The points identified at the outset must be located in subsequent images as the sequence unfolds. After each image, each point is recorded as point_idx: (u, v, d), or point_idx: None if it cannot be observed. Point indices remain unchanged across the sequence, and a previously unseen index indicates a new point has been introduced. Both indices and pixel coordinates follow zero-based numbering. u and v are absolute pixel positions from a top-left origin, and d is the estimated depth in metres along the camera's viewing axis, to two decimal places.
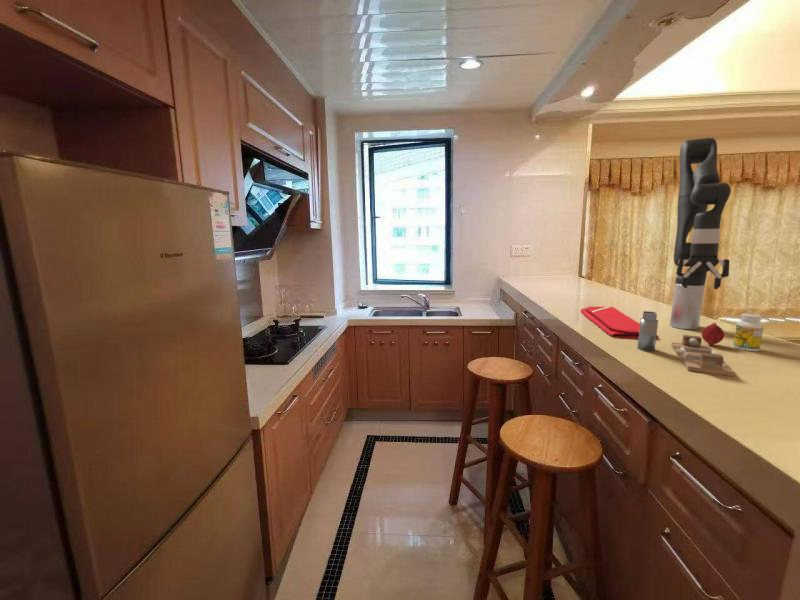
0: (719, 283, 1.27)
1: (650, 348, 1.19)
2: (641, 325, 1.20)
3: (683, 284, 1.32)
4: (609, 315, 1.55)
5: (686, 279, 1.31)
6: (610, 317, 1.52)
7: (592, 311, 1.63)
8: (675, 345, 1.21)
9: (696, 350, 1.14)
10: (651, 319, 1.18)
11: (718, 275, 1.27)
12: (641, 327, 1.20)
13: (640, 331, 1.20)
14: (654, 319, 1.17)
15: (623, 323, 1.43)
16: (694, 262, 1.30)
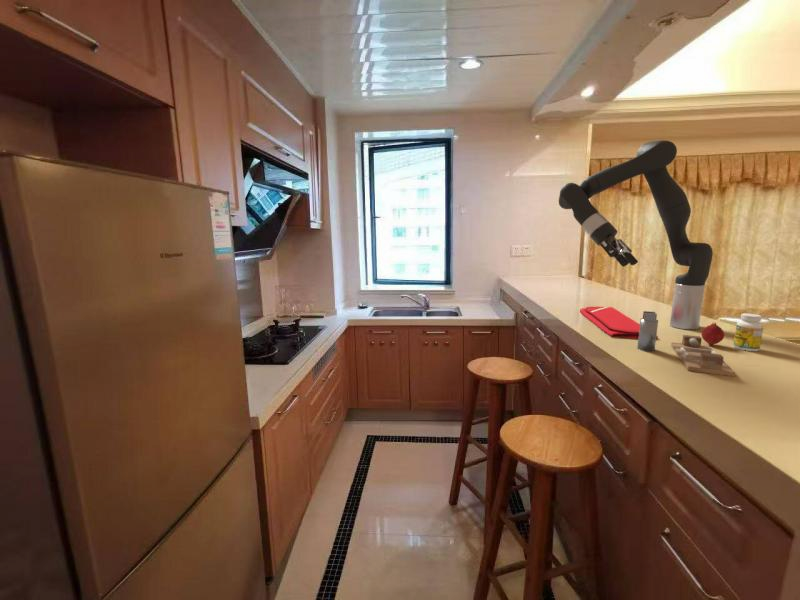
0: None
1: (650, 348, 1.19)
2: (641, 325, 1.20)
3: None
4: (608, 315, 1.55)
5: None
6: (609, 317, 1.52)
7: (591, 311, 1.63)
8: (675, 345, 1.21)
9: (696, 350, 1.14)
10: (651, 319, 1.18)
11: None
12: (641, 327, 1.20)
13: (640, 331, 1.20)
14: (654, 319, 1.17)
15: (622, 323, 1.43)
16: None
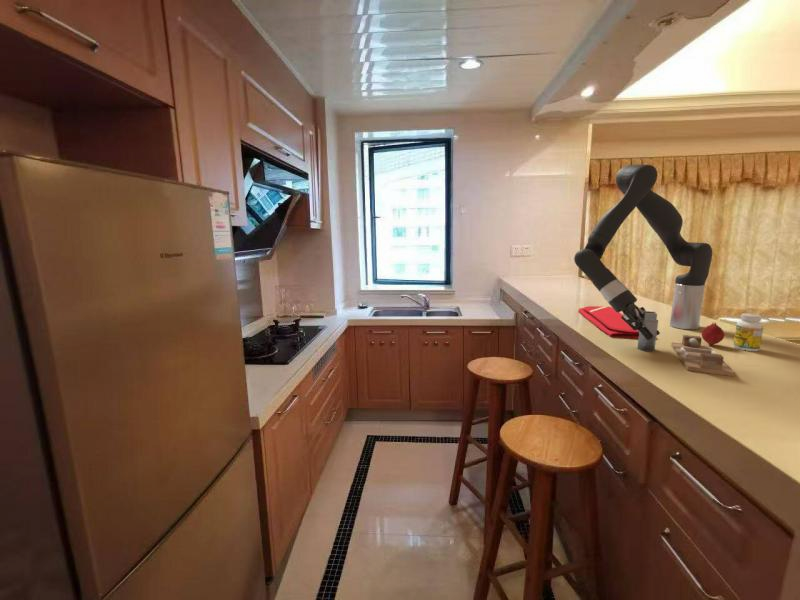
0: None
1: (650, 348, 1.19)
2: None
3: None
4: (607, 315, 1.55)
5: None
6: (608, 317, 1.52)
7: (590, 311, 1.63)
8: (675, 345, 1.21)
9: (696, 350, 1.14)
10: (651, 319, 1.18)
11: None
12: None
13: None
14: (654, 319, 1.17)
15: (621, 323, 1.44)
16: None
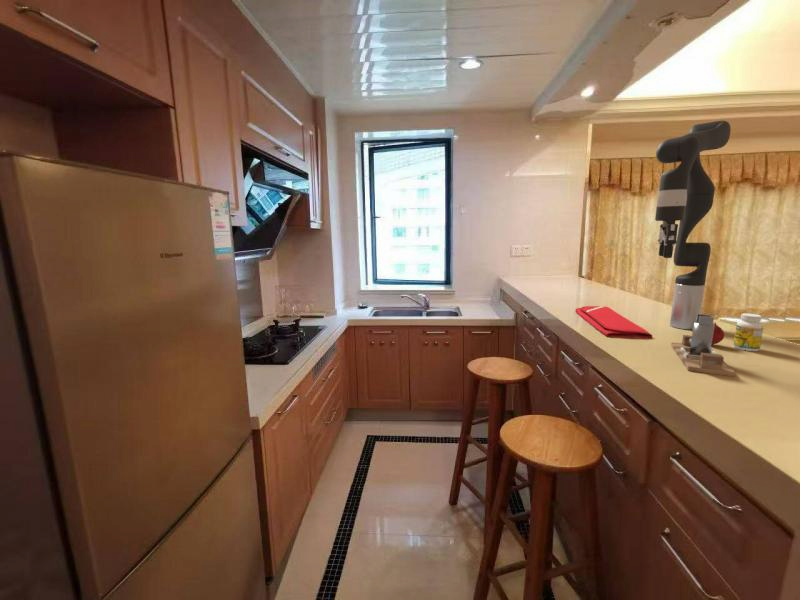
0: (665, 251, 1.14)
1: None
2: (695, 329, 1.10)
3: None
4: (603, 315, 1.56)
5: None
6: (604, 317, 1.53)
7: (587, 311, 1.64)
8: (675, 345, 1.21)
9: None
10: (707, 323, 1.07)
11: (664, 242, 1.14)
12: (694, 331, 1.10)
13: (693, 336, 1.10)
14: (710, 323, 1.07)
15: (617, 322, 1.44)
16: None
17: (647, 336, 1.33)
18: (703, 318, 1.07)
